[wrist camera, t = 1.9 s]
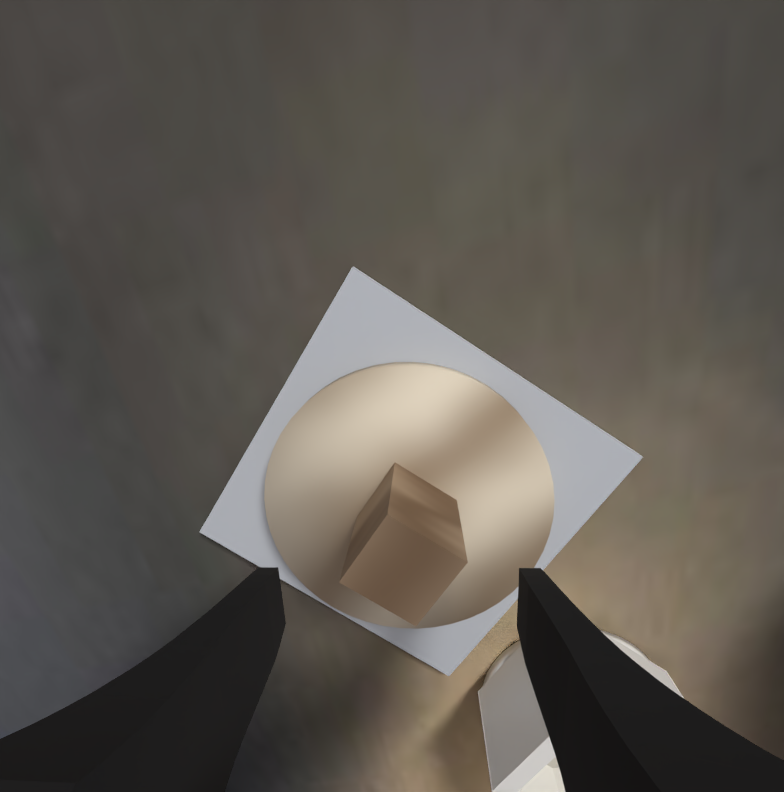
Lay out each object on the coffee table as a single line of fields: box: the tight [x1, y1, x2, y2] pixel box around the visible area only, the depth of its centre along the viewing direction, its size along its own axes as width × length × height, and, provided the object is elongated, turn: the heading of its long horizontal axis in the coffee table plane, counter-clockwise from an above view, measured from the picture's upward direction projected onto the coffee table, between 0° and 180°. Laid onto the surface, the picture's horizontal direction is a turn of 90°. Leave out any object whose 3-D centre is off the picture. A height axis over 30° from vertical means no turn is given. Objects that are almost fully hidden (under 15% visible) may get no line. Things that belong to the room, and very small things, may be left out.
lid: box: [264, 362, 555, 629], centre depth 16 cm, size 12×12×5 cm
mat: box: [200, 267, 643, 676], centre depth 18 cm, size 14×14×1 cm
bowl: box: [478, 630, 683, 792], centre depth 19 cm, size 9×9×5 cm
